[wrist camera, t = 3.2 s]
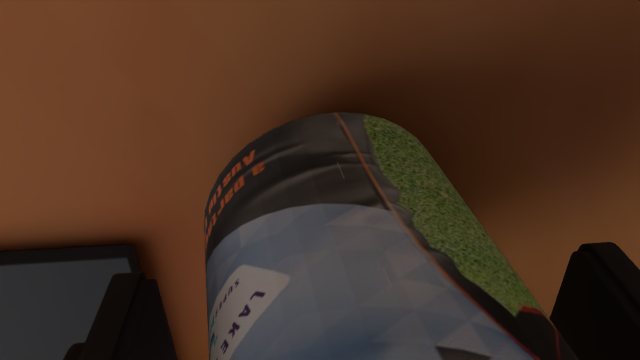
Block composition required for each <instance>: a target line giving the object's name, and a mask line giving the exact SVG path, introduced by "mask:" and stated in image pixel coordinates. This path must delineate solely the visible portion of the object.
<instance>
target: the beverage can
mask: <svg viewBox="0 0 640 360" xmlns="http://www.w3.org/2000/svg"><path fill="white" fill-rule="evenodd" d="M204 239H205V264H206V289H207V314H208V339H209V360H579V359H578V358H577V356H576V355H575V354H574V352H573V351H572V350H571V348H570V347H569V345H568V344H567V343H566V341H565V340H564V338H563V337H562V336H561V334H560V333H559V332H558V330H557V329H556V327H555V326H554V325H553V323H552V322H551V320H550V319H549V318H548V316H547V315H546V314H545V312H544V311H543V309H542V308H541V307H540V305H539V304H538V302H537V301H536V300H535V298H534V297H533V296H532V294H531V293H530V291H529V290H528V289H527V287H526V286H525V285H524V283H523V282H522V280H521V279H520V278H519V276H518V275H517V273H516V272H515V271H514V269H513V268H512V267H511V265H510V264H509V262H508V261H507V260H506V258H505V257H504V255H503V254H502V253H501V251H500V250H499V249H498V247H497V246H496V244H495V243H494V242H493V240H492V239H491V237H490V236H489V235H488V233H487V232H486V231H485V229H484V228H483V226H482V225H481V224H480V222H479V221H478V220H477V218H476V217H475V215H474V214H473V213H472V211H471V210H470V208H469V207H468V206H467V204H466V203H465V202H464V200H463V199H462V197H461V196H460V195H459V193H458V192H457V190H456V189H455V188H454V186H453V185H452V184H451V182H450V181H449V179H448V178H447V177H446V175H445V174H444V172H443V171H442V170H441V168H440V167H439V166H438V164H437V163H436V161H435V160H434V159H433V157H432V156H431V154H430V153H429V152H428V150H427V149H426V148H425V147H424V146H423V145H422V144H421V142H420V141H419V140H418V139H417V138H416V137H415V136H413V135H412V134H411V133H409V132H408V131H407V130H405V129H404V128H402V127H401V126H399V125H397V124H394V123H392V122H390V121H388V120H385V119H383V118H379V117H375V116H371V115H367V114H362V113H347V112H335V113H325V114H316V115H312V116H308V117H304V118H300V119H297V120H293V121H290V122H288V123H286V124H283V125H281V126H279V127H276V128H274V129H272V130H270V131H268V132H267V133H265V134H263V135H262V136H260V137H259V138H257V139H255V140H254V141H252V142H251V143H249V144H248V145H247V146H246V147H245V148H244V149H243V150H241V151H240V152H239V153H238V154H237V155H236V156H235V157H233V159H232V160H231V161H230V162H229V164H228V165H227V166H226V167H225V169H224V170H223V171H222V172H221V174H220V175H219V177H218V179H217V181H216V183H215V184H214V186H213V188H212V190H211V192H210V195H209V199H208V202H207V205H206V209H205V220H204Z"/></svg>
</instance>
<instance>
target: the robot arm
mask: <svg viewBox="0 0 640 360" xmlns="http://www.w3.org/2000/svg"><path fill="white" fill-rule="evenodd" d="M550 320H551V322H552V323H553V325H554V326H555V327H556V329H557V330H558V332H559V333H560V334H561V336H562V337H563V338H564V340H565V341H566V343H567V344H568V345H569V347H570V348H571V350H572V351H573V352H574V354H575V355H576V356H577V358H578V359H579V360H640V270H639V269H638V268H637V266H636V265H635V264H634V263H633V262H632V261H631V260H630V259H629V258H628V257H627V255H626V254H625V253H624V252H623V251H622V250H621V249H620V248H619V247H618V246H617V245H616V244H615V243H612V242H604V243H588V244H582V245H581V246H580V247H579V249H578V251H575V252H573V253H572V255H571V257H570V260H569V263H568V266H567V269H566V272H565V275H564V278H563V281H562V284H561V287H560V290H559V293H558V296H557V299H556V302H555V305H554V308H553V310H552V313H551V316H550ZM63 360H178V359H177V355H176V352H175V348H174V344H173V341H172V337H171V333H170V329H169V326H168V322H167V318H166V314H165V311H164V307H163V303H162V300H161V296H160V292H159V288H158V285H157V282H156V280H155V278H151V279H148V278H147V275H146V273H145V272H132V273H116V274H114V275H113V276H112V278H111V280H110V283H109V285H108V287H107V290H106V292H105V295H104V297H103V300H102V302H101V305H100V307H99V309H98V312H97V314H96V317H95V319H94V322H93V324H92V327H91V329H90V331H89V334H88V336H87V339H86V341H85V342H82V343H75V344H73V345H72V346H71V347H70V348H69V349H68V351H67V353H66V355H65V357H64V359H63Z"/></svg>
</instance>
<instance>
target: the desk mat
mask: <svg viewBox="0 0 640 360" xmlns="http://www.w3.org/2000/svg"><path fill="white" fill-rule="evenodd" d="M132 272H141V271H140V267H139V264H138V260H137V257H136V254H135V250H134V247H133V244H125V245H108V246H92V247H75V248H59V249H42V250H25V251H9V252H0V360H63V359H64V357H65V355H66V353H67V351H68V349H69V348H70V347H71V346H72V345H73V344H75V343H82V342H85V341H86V339H87V336H88V334H89V331H90V329H91V327H92V324H93V322H94V319H95V317H96V314H97V312H98V309H99V307H100V305H101V302H102V300H103V297H104V295H105V292H106V290H107V287H108V285H109V283H110V280H111V278H112V276H113V275H114V274H116V273H132Z"/></svg>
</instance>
